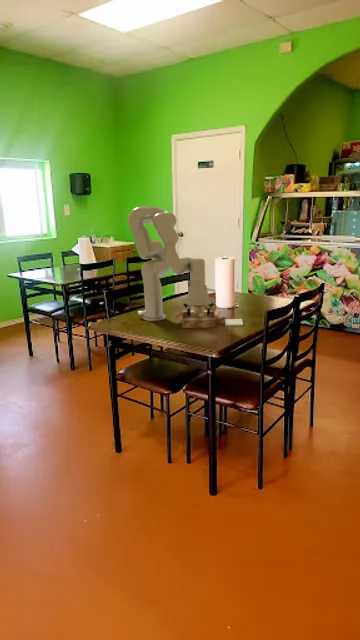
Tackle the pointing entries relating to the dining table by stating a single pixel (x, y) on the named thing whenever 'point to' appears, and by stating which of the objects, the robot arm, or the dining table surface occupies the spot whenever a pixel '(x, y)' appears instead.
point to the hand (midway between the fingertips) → (198, 315)
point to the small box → (212, 295)
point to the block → (198, 311)
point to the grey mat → (233, 322)
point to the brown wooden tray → (198, 319)
